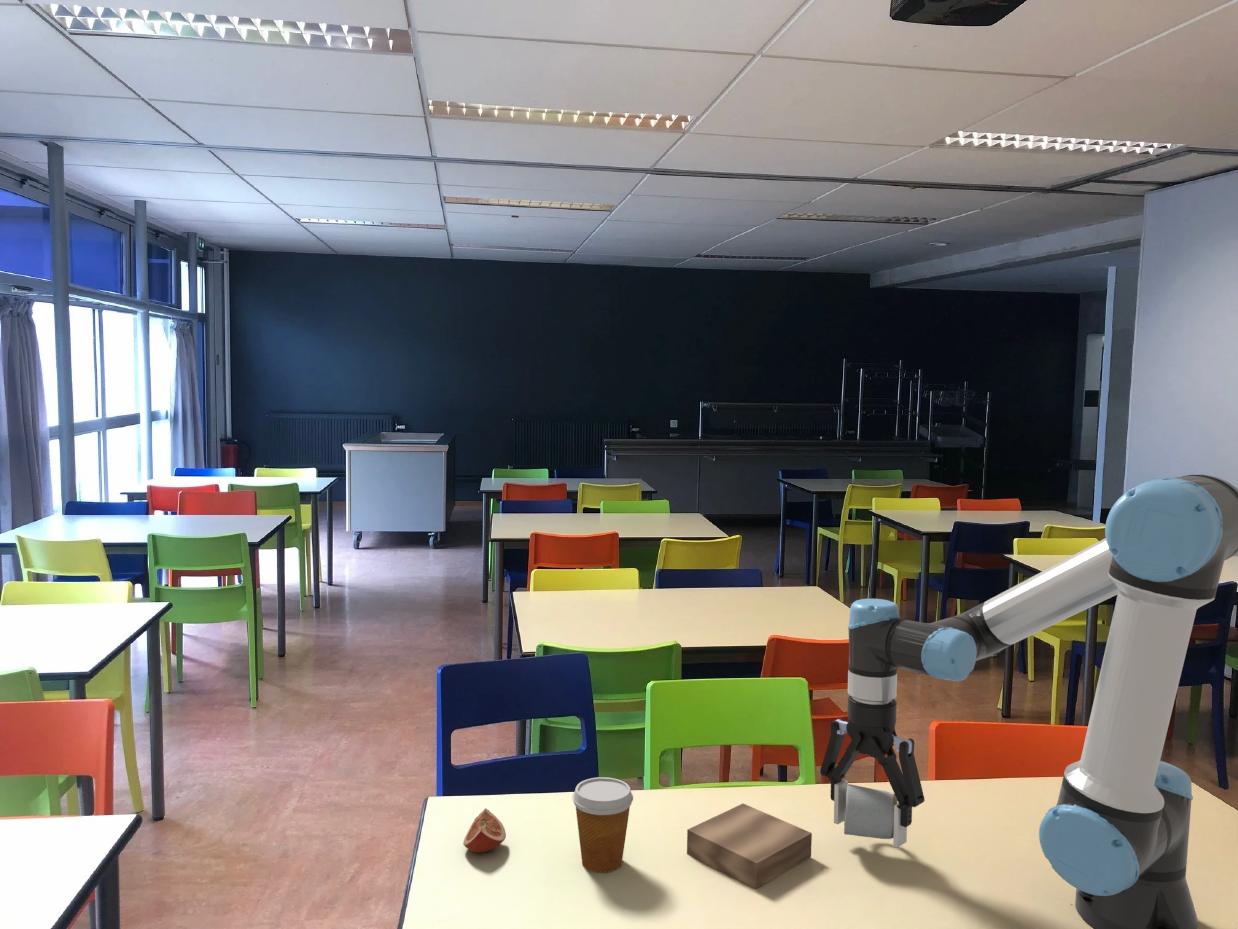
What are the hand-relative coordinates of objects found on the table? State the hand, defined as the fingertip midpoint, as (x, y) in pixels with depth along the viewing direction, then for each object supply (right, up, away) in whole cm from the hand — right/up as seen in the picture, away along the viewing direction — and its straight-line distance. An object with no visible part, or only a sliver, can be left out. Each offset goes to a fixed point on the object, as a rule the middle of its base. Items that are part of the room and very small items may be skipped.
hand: (869, 832), depth 149 cm
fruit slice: (-62, -3, 0) cm, 62 cm away
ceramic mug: (0, 0, +1) cm, 1 cm away
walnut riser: (-20, -3, -1) cm, 20 cm away
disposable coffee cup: (-43, -3, -4) cm, 43 cm away
